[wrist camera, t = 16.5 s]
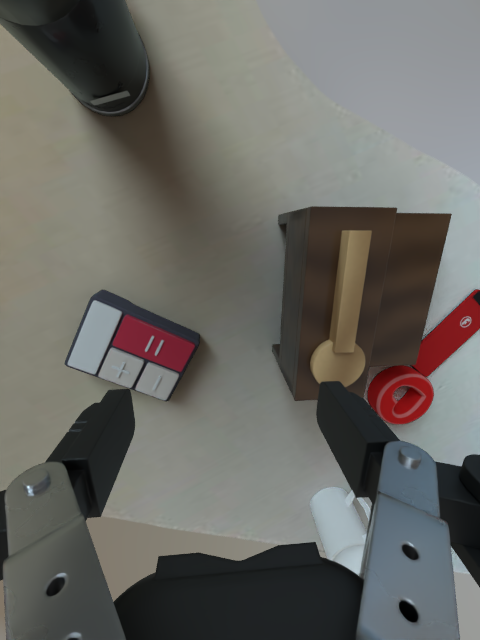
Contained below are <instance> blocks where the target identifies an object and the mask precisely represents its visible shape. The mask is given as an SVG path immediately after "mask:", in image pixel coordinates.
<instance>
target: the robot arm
mask: <svg viewBox="0 0 480 640" xmlns="http://www.w3.org/2000/svg"><path fill="white" fill-rule="evenodd" d="M0 24H1V25H2V26H3V27H4V28H5V29H6V30H7V31H8V32H9V33H10V34H11V35H12V36H13V37H14V38H15V39H16V40H18V41H19V42H20V43H21V44H22V45H23V46H24V47H25V48H26V49H27V50H28V51H29V52H30V53H31V54H32V55H33V56H34V57H35V58H36V59H37V60H38V61H39V62H41V63H42V64H43V65H44V66H45V67H46V68H47V69H48V70H49V71H50V72H51V73H52V74H53V75H54V76H55V77H56V78H57V79H58V80H59V81H60V82H61V83H62V84H63V85H65V86H66V87H67V88H68V89H69V90H70V92H71V93H72V94H73V95H74V96H75V97H76V98H77V99H78V100H79V101H80V102H81V103H82V104H83V105H85V106H86V107H87V108H89V109H90V110H92V111H94V112H96V113H99V114H102V115H106V116H120V115H123V114H126V113H128V112H130V111H132V110H133V109H134V108H135V107H136V106H137V105H138V104H139V103H140V102H141V100H142V99H143V97H144V95H145V93H146V90H147V87H148V83H149V62H148V57H147V53H146V50H145V47H144V45H143V42H142V40H141V38H140V35H139V34H138V32H137V30H136V27H135V24H134V22H133V19H132V17H131V14H130V12H129V9H128V7H127V4H126V2H125V0H0ZM316 415H317V422H318V425H319V428H320V430H321V432H322V433H323V435H324V437H325V439H326V441H327V443H328V445H329V447H330V449H331V451H332V453H333V454H334V456H335V458H336V460H337V462H338V464H339V466H340V468H341V470H342V472H343V474H344V475H345V477H346V479H347V481H348V483H349V485H350V487H351V489H352V491H353V493H354V495H355V496H356V498H363V497H369V498H370V500H371V502H372V506H371V511H370V517H369V522H368V528H367V534H366V540H365V545H364V551H363V557H362V562H361V568H360V573H359V576H358V575H357V574H356V573H354V572H353V571H351V570H350V569H348V568H346V567H345V566H343V565H341V564H339V563H337V562H335V561H332V560H329V559H326V558H322V557H320V555H319V551H318V548H317V545H316V542H311V543H300V544H289V545H278V546H276V547H274V548H271V549H269V550H266V551H264V552H262V553H259V554H257V555H254V556H252V557H250V558H247V559H245V560H242V561H235V560H230V559H225V558H221V557H216V556H211V555H207V554H202V553H190V554H179V555H168V556H159V557H158V563H157V568H156V573H153V574H151V575H149V576H147V577H145V578H143V579H141V580H140V581H138V582H137V583H135V584H134V585H132V586H131V587H130V588H128V589H127V590H126V591H125V592H124V593H122V594H121V595H120V596H119V597H118V598H117V599H116V600H115V601H114V602H113V600H112V597H111V594H110V591H109V588H108V586H107V582H106V580H105V577H104V574H103V571H102V568H101V565H100V562H99V559H98V556H97V553H96V551H95V547H94V545H93V542H92V539H91V536H90V533H89V530H88V527H87V524H86V520H87V518H91V517H101V515H102V512H103V510H104V507H105V505H106V502H107V500H108V497H109V495H110V492H111V490H112V487H113V485H114V482H115V480H116V478H117V475H118V473H119V470H120V468H121V465H122V463H123V460H124V458H125V455H126V453H127V450H128V448H129V445H130V443H131V440H132V438H133V435H134V430H135V418H134V411H133V404H132V397H131V392H130V390H129V389H116V390H108V392H107V393H106V394H105V396H104V397H103V399H102V400H101V402H100V403H94V404H92V405H91V406H90V407H88V408H87V409H85V410H84V411H83V412H82V413H81V414H80V416H79V417H78V418H77V420H76V421H75V424H73V425H72V427H71V428H70V429H69V432H67V433H66V435H65V436H64V437H63V439H62V440H61V441H60V443H59V444H58V446H57V447H56V448H55V450H54V451H53V452H52V454H51V455H50V456H49V458H48V459H47V460H46V462H45V463H42V464H39V465H36V466H34V467H32V468H30V469H28V470H26V471H25V472H23V473H22V474H20V475H19V476H18V477H17V478H15V479H14V480H13V481H12V482H11V484H10V485H9V486H8V488H7V490H4V491H0V580H3V582H4V603H5V621H6V640H460V634H459V624H458V616H457V606H456V605H457V604H456V595H455V584H454V574H453V565H452V555H451V546H452V548H453V549H454V551H455V552H456V554H457V555H458V556H459V558H460V559H461V561H462V562H463V564H464V565H465V567H466V568H467V570H468V571H469V572H470V574H471V575H472V577H473V578H474V580H475V581H476V582H477V584H478V585H479V587H480V455H469V456H467V457H465V459H464V461H463V464H462V467H460V466H455V465H450V464H445V463H440V462H435V461H434V460H433V458H432V457H431V456H430V455H429V454H428V453H427V452H425V451H424V450H423V449H421V448H419V447H418V446H416V445H413V444H411V443H408V442H404V441H400V440H399V439H398V437H397V436H396V435H395V434H394V433H393V432H392V431H391V429H390V428H389V427H388V426H387V425H386V424H385V423H384V421H383V420H382V419H381V418H380V417H379V416H378V415H377V413H376V412H375V411H374V410H373V409H371V407H370V405H369V404H368V403H367V402H366V401H365V400H364V399H363V398H361V397H360V396H358V395H357V394H355V393H354V392H348V390H347V389H346V388H345V387H344V385H343V384H342V383H341V382H340V381H323V382H321V383H320V386H319V394H318V403H317V412H316Z"/></svg>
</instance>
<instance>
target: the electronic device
mask: <svg viewBox="0 0 480 640" xmlns="http://www.w3.org/2000/svg"><path fill="white" fill-rule="evenodd" d="M479 329H480V290H478V289H476V290H474V291H473V292H472V293H471V294H470V295H469V296H468V297H467V298H466V299H465V300H464V301H463V302H462V303H461V304H460V305H459V306H458V307H457V308H456V309H455V310H453V311H452V312H451V313H450V314H449V315H448V316H447V317H446V318H445V319H444V320H443V321H442V322H441V323H440V324H439V325H438V326H437V327H436V328H435V329H434V330H433V331H432V332H431V333H429V334H428V335H427V336H426V337H425V338H424V339H423V340H422V341H421V345H420V349H419V353H418V357H417V361H416V365H412V366H413V367H414V368H415V369H416V370H417V371H418V372H420V373H421V374H422V375H423V376H424V377H427V376H429V375H430V374H431V373H432V372H433V371H434V370H435V369H436V368H437V367H438V366H439V365H441V364H442V363H443V362H444V361H445V360H446V359H447V358H448V357H449V356H450V355H451V354H452V353H454V352H455V351H456V350H457V349H458V348H459V347H460V346H461V345H462V344H463V343H464V342H466V341H467V340H468V339H469V338H470V337H471V336H472V335H473V334H474V333H475V332H476V331H477V330H479Z"/></svg>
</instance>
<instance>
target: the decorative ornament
mask: <svg viewBox="0 0 480 640" xmlns="http://www.w3.org/2000/svg"><path fill="white" fill-rule="evenodd" d="M401 386H409V387H410V389H409V390H408V391H407V392H406V394H405V395H404V396H403V397H402V398H401V399H400V400H399V401H397V400H396V399H395V398H394V397H393V394H394V392H395V390H396V389H397V388H399V387H401ZM433 397H434V391H433V387H432V384H431V383H430V381H429V380H428V379H427V378H426V377H424V376H423V375H421V374H420V373H419V372H417V371H416V370H414V369H413V368H411V367H408V366H404V365H400V366H393V367H390V368H387V369H385V370H384V371H382V372H380V373H379V374H378V375H377V376H376V377H375V378H374V379H373V380H372V382H371V384H370V386H369V389H368V395H367V398H368V402H369V404H370V406H371V407H372V408H373V409H374V410H375V412H376V413H377V414H378V415H379V416H380V417H381V418H382V419H383V420H384V421H386V422H388V423H391V424H406V423H410V422H412V421H414V420H416V419H418V418H419V417H421V416H422V415H423V414H424V413H425V412H426V411H427V410H428V408H429V407H430V405H431V403H432V401H433Z"/></svg>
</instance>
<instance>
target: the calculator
mask: <svg viewBox="0 0 480 640" xmlns="http://www.w3.org/2000/svg"><path fill="white" fill-rule="evenodd" d="M199 343H200V335H199V334H198V333H196V332H194V331H192V330H190V329H187V328H185V327H183V326H181V325H178V324H176V323H174V322H172V321H169V320H167V319H165V318H163V317H160V316H158V315H156V314H154V313H151V312H149V311H147V310H145V309H142V308H140V307H138V306H136V305H134V304H132V303H131V302H129V301H128V300H126V299H124V298H121V297H119V296H117V295H115V294H113V293H110V292H108V291H106V290H101V291H99V292H98V293H96V294H95V295H93V296H92V297H91V298H90V301H89V303H88V305H87V308H86V310H85V313H84V315H83V318H82V320H81V323H80V325H79V328H78V330H77V333H76V335H75V338H74V340H73V343H72V345H71V348H70V350H69V353H68V355H67V358H66V360H65V365H66V366H68V367H71V368H74V369H76V370H79V371H82V372H85V373H88V374H90V375H93V376H96V377H99V378H102V379H104V380H107V381H110V382H113V383H116V384H118V385H121V386H124V387H127V388H130V389H132V390H135V391H138V392H141V393H144V394H146V395H149V396H152V397H155V398H158V399H161V400H163V401H169V399H170V398H171V396H172V394H173V392H174V390H175V388H176V387H177V385H178V383H179V381H180V379H181V377H182V375H183V374H184V372H185V370H186V368H187V366H188V364H189V363H190V361H191V359H192V357H193V355H194V353H195V351H196V350H197V348H198V346H199Z"/></svg>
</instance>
